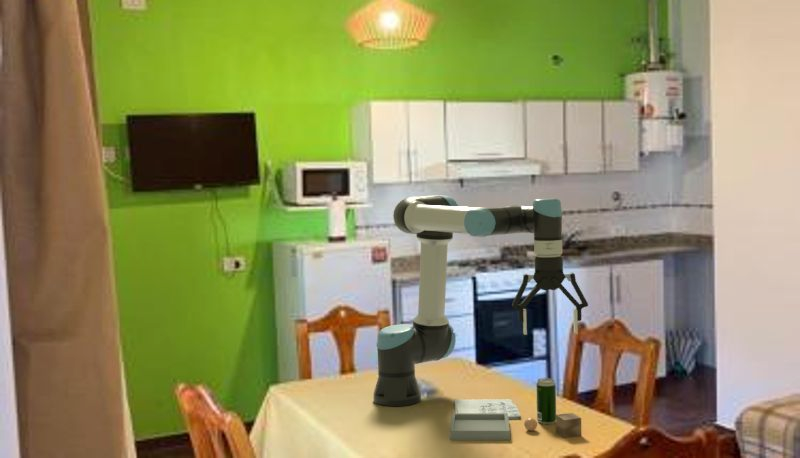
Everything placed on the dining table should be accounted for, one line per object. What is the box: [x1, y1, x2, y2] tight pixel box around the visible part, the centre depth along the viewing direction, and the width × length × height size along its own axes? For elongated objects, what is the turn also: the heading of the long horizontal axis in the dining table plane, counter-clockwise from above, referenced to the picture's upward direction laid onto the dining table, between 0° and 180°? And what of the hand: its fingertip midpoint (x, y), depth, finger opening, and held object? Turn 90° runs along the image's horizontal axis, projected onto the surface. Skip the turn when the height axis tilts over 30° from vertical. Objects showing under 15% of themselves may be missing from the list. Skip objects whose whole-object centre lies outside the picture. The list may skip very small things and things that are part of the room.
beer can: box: [536, 377, 557, 425], centre depth 234 cm, size 5×5×12 cm
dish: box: [449, 413, 511, 441], centre depth 229 cm, size 16×16×2 cm
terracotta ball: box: [523, 417, 538, 432], centre depth 227 cm, size 4×4×4 cm
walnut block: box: [555, 412, 582, 439], centre depth 223 cm, size 5×5×5 cm
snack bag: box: [453, 398, 522, 420], centre depth 248 cm, size 19×20×2 cm
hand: (550, 333), depth 224 cm, fingers open, 13 cm apart
